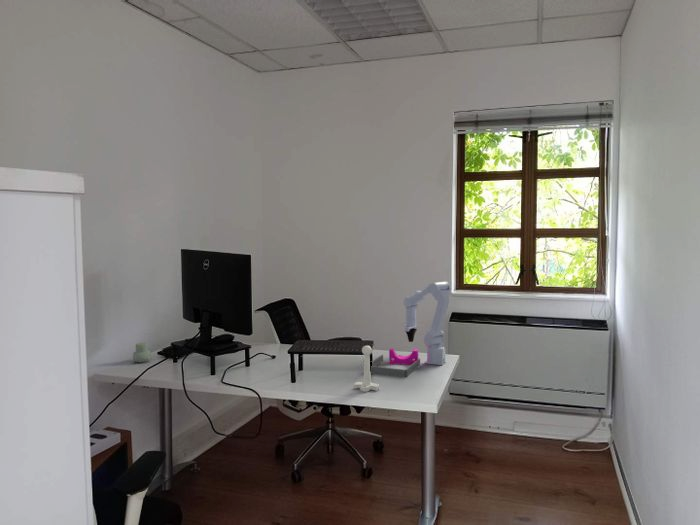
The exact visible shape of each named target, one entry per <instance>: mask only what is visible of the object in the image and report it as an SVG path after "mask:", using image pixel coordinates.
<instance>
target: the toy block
mask: <svg viewBox="0 0 700 525" xmlns="http://www.w3.org/2000/svg"><path fill="white" fill-rule="evenodd" d="M388 354H389V355H388V358H389V360H388V361H389V363H388V364H390V365H392V364H393V365H409V366H410V365H412V364H413V363H414V362H415V361H416V360H418V359H419V349H417V348H416V349H415V348H414V349H412V353H410V354H409V355H405V356H404V355H400V354H399V355H398V354H397V353H396V351H395V348H392V347H391V348H389V351H388Z"/></svg>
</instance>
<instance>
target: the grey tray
mask: <svg viewBox="0 0 700 525" xmlns="http://www.w3.org/2000/svg"><path fill="white" fill-rule="evenodd" d="M371 362H372V366H371V374H375V375H384V376H389V377H390V376H391V377H399V378H401V377H402V378H408V377H409V376H410V375H411V374H412V373H413V372H414V371H415V370H417V369H418V368H419V367H420V366H421V358H418V360H416V361H415V362H414V363H413V364H412V365H409V366H408V367H406V369H401V368H395V367H394V368H391V367H383V366H378V365H380V364H381V363H383V362H384V355H383V354H381V355H379V356H377V358H375V359H373V360H371Z"/></svg>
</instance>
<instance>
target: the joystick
mask: <svg viewBox="0 0 700 525" xmlns="http://www.w3.org/2000/svg"><path fill="white" fill-rule="evenodd" d="M372 350H373V349H372V347H371V346H370V345H363V347H362V348H361V352H362V354H363V356H364V359H363V379H362V380H363V381H356V382H355V383H354V386H353V387H354V389H360V391H361V392H363V393H368V392H369V391H370V390H373V391H376V392H377V391H380V384H379V383H374V382H372V375H371V374H372V373H371V372H370V362H371V361H370V360H371V359H370V358H371V357H370V356H371V354H372V353H373V351H372Z"/></svg>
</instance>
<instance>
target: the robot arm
mask: <svg viewBox="0 0 700 525" xmlns="http://www.w3.org/2000/svg"><path fill="white" fill-rule="evenodd" d="M451 290H452V288H451V285H450V283H449V282H448V281H445V280H444V281H439V282H431V283H429V284H428V285H427V286H426V287H424V288H423V290H415V291H414V292H415V293H413V294H410V296H405V297H404V298H403V305H404V306H405V324H404V325H403V328H404V329H405V330H404V332H405V333H406V336H407V340H408V343H413V342H414V339H415V334H416V332H417V309H418V306H419V303H421V302H423V301H424V300H425V298H426V296H428V295H430V294H431V296H432V297H433V298H434V300H436V301H437V304H436V307H435V311H434V317H433V320H432V322H431V323H432V324H431V327H430V329H428V331H426V334H425V335H424V336H423V343H424V345H425V346H426V361H425V362H424V364H428V365H438V366H443V365H444V364H445V363H446V362H447V361H446V348H445V346H443V344H444V342H445V332H444V331H443V330H442V329H443V326H444V322H445V318H446V314H447V311H448V307H449V304H450V294H451Z"/></svg>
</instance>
